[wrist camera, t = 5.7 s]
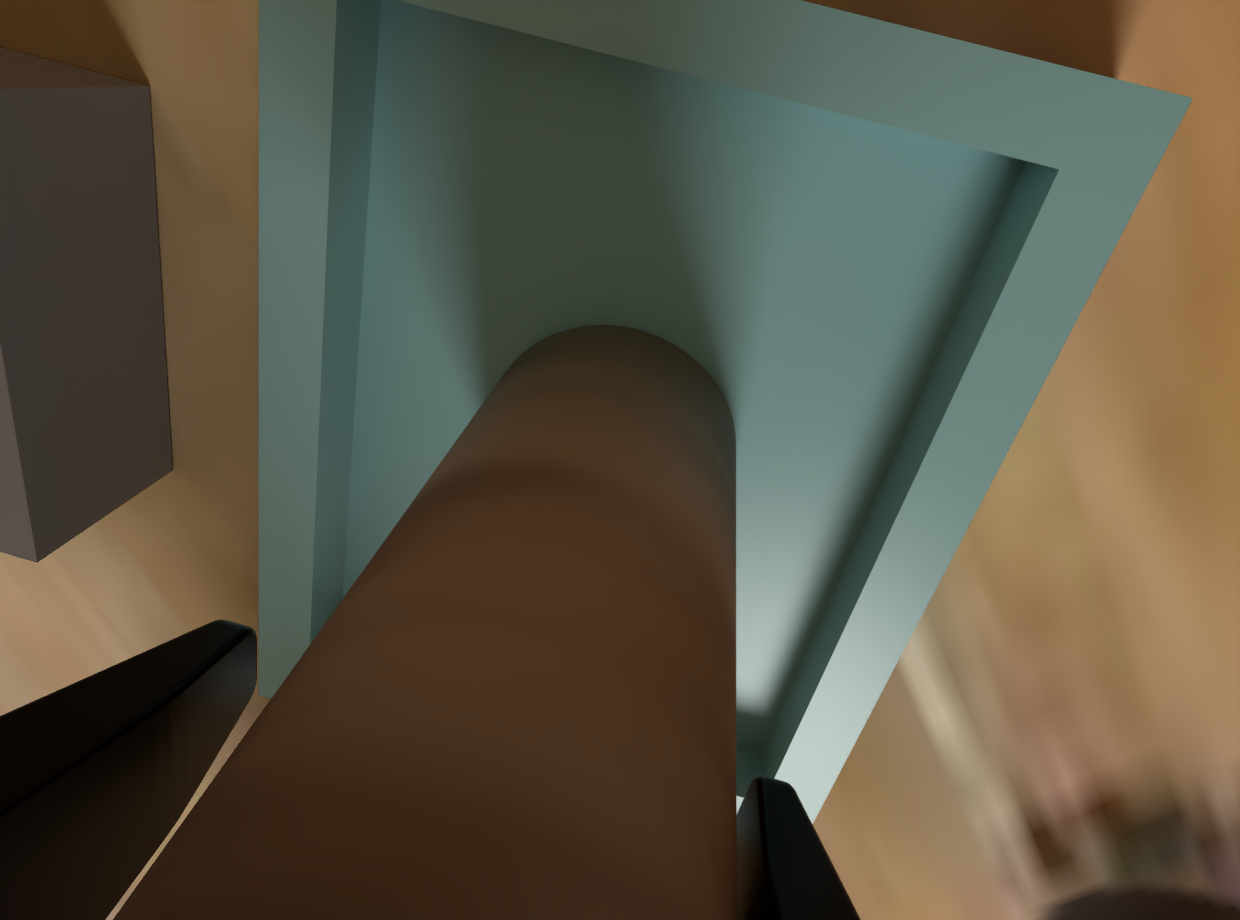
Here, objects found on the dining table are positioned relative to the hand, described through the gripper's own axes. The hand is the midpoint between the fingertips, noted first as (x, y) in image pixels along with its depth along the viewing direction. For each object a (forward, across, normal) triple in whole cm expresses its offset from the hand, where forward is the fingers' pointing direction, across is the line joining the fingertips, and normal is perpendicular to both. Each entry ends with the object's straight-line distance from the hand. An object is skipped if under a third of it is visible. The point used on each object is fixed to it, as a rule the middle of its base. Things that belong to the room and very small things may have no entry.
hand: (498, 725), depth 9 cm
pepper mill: (+7, 0, 0) cm, 7 cm away
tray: (+8, 0, 0) cm, 8 cm away
